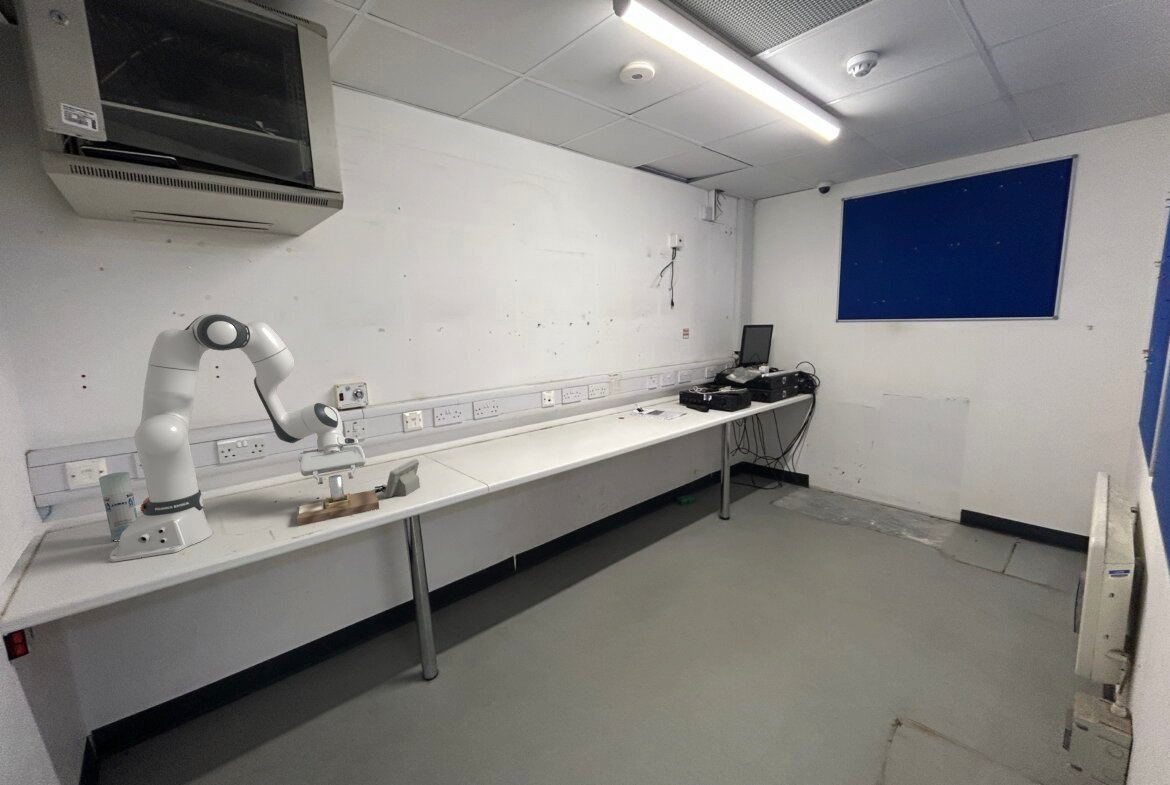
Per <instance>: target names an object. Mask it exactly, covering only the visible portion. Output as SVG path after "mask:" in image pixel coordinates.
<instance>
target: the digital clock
mask: <svg viewBox="0 0 1170 785" xmlns="http://www.w3.org/2000/svg"><path fill="white" fill-rule="evenodd" d="M419 464H420V461H419V460H418V459H417V458H414V459H411V460H410V461H407V462H406V463H404V464H402V465H400V466H398V467H396V468H394V469H392V470H391V471H390V472H389V474H388V479H387V482H386V487H385V490H384V496H385V497H386V498H388V499H389V498H392V497H393V496H401V497H407V496H408V495H410V494H411V493H413V492H414V491H416V490H418V489H420V487H421V486H420V484H421V483H420V477H419V476H418V475H417V472H418V469H419V466H420V465H419Z"/></svg>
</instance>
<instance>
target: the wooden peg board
mask: <svg viewBox="0 0 1170 785" xmlns="http://www.w3.org/2000/svg"><path fill="white" fill-rule="evenodd" d="M344 498H345V500H344V501H339V502H334V503H332V501H331V496H328V497H325V498H323V499H320V500H313V501H308V502H304V503H298V505H297V513H296V514H297V515H296V524H297V527H300V526H305V525H309V524H314V523H319V522H324V521H328V520H329V521H330V520H334V519H338V518H339V519H340V518H343V517H347V516H352V515H357V514H361V513H367V512H371V510H372V511H375V509H376V510H379V509H380V502H379V499H378V497H377V494H376V491H375V489H372V490H366V491H361V492H360V491H359V492H355V493H344ZM366 511H367V512H366Z"/></svg>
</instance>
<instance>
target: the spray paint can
mask: <svg viewBox="0 0 1170 785" xmlns="http://www.w3.org/2000/svg"><path fill="white" fill-rule="evenodd" d="M98 481H99V487H100V490H101V494H102V500H103V504H104V509H105V513H106V514H105V515H106V518H107V523H108V528H109V531H110V537H111V540H112V541H113V540H120V537H121V534H122V532H123V531H124V530H125V529H126V528H127V527H128V526H129V525H130V524H132V523H133V522H134V521H135V520H136V519H138V518H139V517H138V513H137V512H138V511H137V507H136V502H135V496H134V490H133V486H132V480H131V475H130V472H129V471H120V472H114V473H108V474H105V475H102V476H100V477H98Z"/></svg>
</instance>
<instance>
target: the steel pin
mask: <svg viewBox="0 0 1170 785" xmlns="http://www.w3.org/2000/svg"><path fill="white" fill-rule="evenodd" d="M343 481H344V480H343V475H342V474H334V475H331V476H329V477H328V483H329V490H330V491H329V492H330V493H329V494H330V497H331V501H332V503H334V502H339V501H344V500H345V498H344V494H345V492H344V491H345V490H344V484H343Z"/></svg>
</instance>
